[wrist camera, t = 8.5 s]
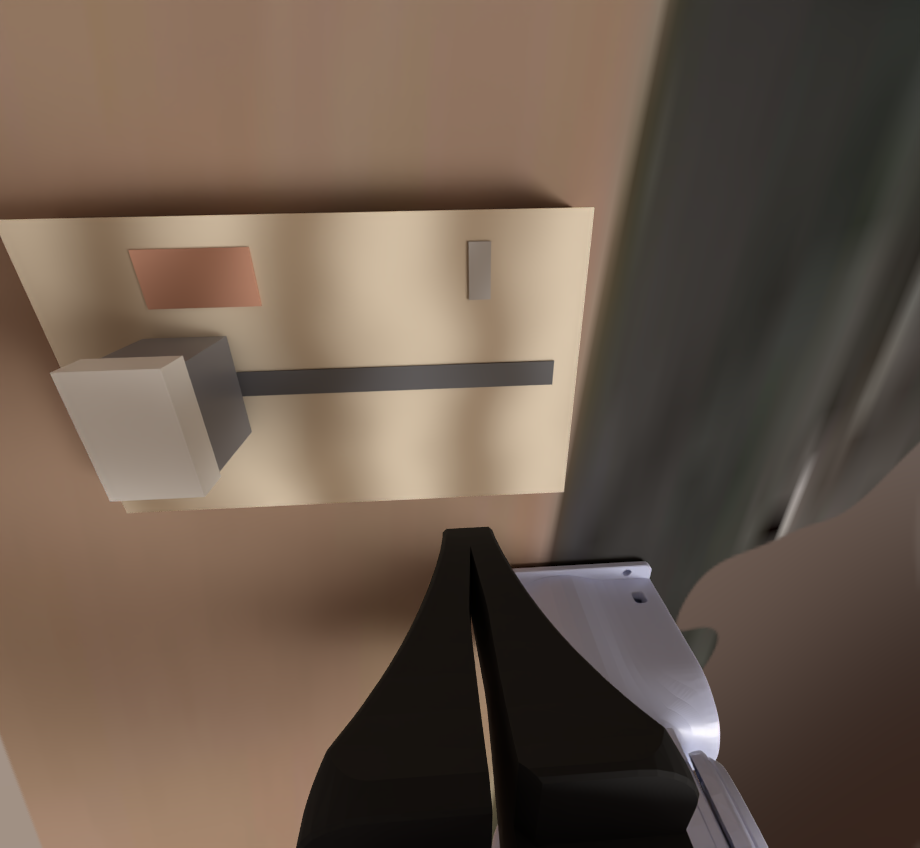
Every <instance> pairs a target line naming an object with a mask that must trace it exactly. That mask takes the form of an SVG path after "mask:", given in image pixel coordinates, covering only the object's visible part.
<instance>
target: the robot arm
mask: <svg viewBox="0 0 920 848" xmlns="http://www.w3.org/2000/svg"><path fill="white" fill-rule="evenodd" d="M625 570H626V571H625ZM650 574H651V567H650V566H649V564H648V563H647V562H645V561H638V562H620V563H603V564H585V565H567V566H549V567H532V568H514V569H512V568H511V566H510V564H509V563H508V561H507V559H506V557H505V556H504V554H503V552H502V550H501V548H500V546H499V544H498V542H497V540H496V538H495V536H494V534H493V531H492V529H490V528H489V527H476V528H457V529H446V530H445V531H444V532H443V538H442V545H441V550H440V554H439V558H438V561H437V565H436V568H435V571H434V573H433V576H432V579H431V582H430V585H429V588H428V590H427V592H426V595H425V597H424V599H423V602H422V604H421V607H420V609H419V611H418V613H417V615H416V618H415V620H414V622H413V624H412V626H411V628H410V630H409V632H408V633H407V635H406V637H405V639H404V641H403V643H402V645H401V646H400V648H399V650H398V651H397V653H396V655H395V657H394V658H393V660H392V662H391V663H390V665H389V667H388V668H387V670H386V671H385V673H384V675H383V676H382V678H381V679H380V680H379V682H378V683H377V685H376V686H375V688H374V689H373V691H372V692H371V693H370V695H369V696H368V698H367V699H366V701H365V702H364V704H363V705H362V706H361V708H360V709H359V711H358V712H357V713H356V715H355V716H354V717H353V718H352V720H351V721H350V722H349V723H348V725H347V726H346V727H345V728H344V730H343V731H342V732H341V733H340V735H339V736H338V737H337V739H336V740H335V741H334V742H333V744H332V745H331V746H330V747H329V749H328V750H327V752H326V754H325V756H324V758H323V761H322V763H321V765H320V768H319V770H318V772H317V775H316V777H315V780H314V783H313V785H312V788H311V791H310V794H309V797H308V800H307V803H306V807H305V810H304V814H303V818H302V823H301V827H300V832H299V837H298V841H297V846H296V848H491V845H492V848H768V846H767V844H766V842H765V840H764V838H763V836H762V834H761V832H760V830H759V828H758V827H757V825H756V823H755V821H754V819H753V817H752V815H751V813H750V811H749V809H748V808H747V806H746V804H745V802H744V800H743V798H742V797H741V795H740V793H739V791H738V790H737V788H736V786H735V785H734V783H733V781H732V779H731V777H730V776H729V774H728V773H727V771H726V770H725V768H724V767H723V766H722V765H721V764H720V763H719V762H717V761H715V760H716V758H717V756H718V752H719V746H720V727H719V719H718V714H717V710H716V706H715V703H714V699H713V696H712V693H711V690H710V687H709V685H708V682H707V679H706V677H705V675H704V673H703V670H702V668H701V666H700V665H699V663H698V661H697V659H696V657H695V656H694V654H693V652H692V651H691V649H690V647H689V645H688V644H687V642H686V640H685V639H684V637H683V635H682V633H681V632H680V630H679V628H678V627H677V625H676V623H675V621H674V620H673V618H672V616H671V615H670V613H669V611H668V609H667V608H666V606H665V604H664V603H663V601H662V599H661V597H660V596H659V594H658V592H657V591H656V589H655V587H654V585H653V584H652V582H651V580H650V579H649V578H650ZM471 617H472V623H473V629H474V634H475V640H476V645H477V651H478V657H479V662H480V668H481V673H482V679H483V684H484V690H485V696H486V703H487V711H488V722H489V732H490V743H491V753H492V764H493V775H494V786H495V797H496V809H497V820H498V825H497V828H496V831H495V833H494V837H493V842H492V801H491V791H490V781H489V771H488V764H487V757H486V749H485V742H484V734H483V727H482V719H481V711H480V703H479V695H478V687H477V678H476V670H475V661H474V652H473V643H472V634H471ZM693 770H695V772H696V775H697V777H698V779H699V781H700V785H701V787H700V785H699V783H698V780H697V779H696V776H695V774H694V772H693ZM701 788H702V789H701ZM702 790H703V791H702Z"/></svg>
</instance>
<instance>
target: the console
mask: <svg viewBox="0 0 920 848" xmlns="http://www.w3.org/2000/svg"><path fill="white" fill-rule="evenodd" d="M594 208H595V207H567V208H520V209H472V210H425V211H377V212H330V213H282V214H235V215H187V216H140V217H92V218H47V219H11V220H0V237H1V239H2V241H3V243H4V245H5V247H6V250H7V252H8V254H9V256H10V258H11V261H12V263H13V265H14V267H15V269H16V272H17V274H18V276H19V278H20V280H21V283H22V285H23V287H24V289H25V291H26V294H27V296H28V298H29V300H30V302H31V304H32V307H33V309H34V311H35V313H36V315H37V318H38V320H39V322H40V324H41V326H42V329H43V331H44V333H45V335H46V337H47V340H48V342H49V344H50V346H51V348H52V350H53V353H54V355H55V357H56V359H57V361H58V364H59V366H60V368H62V367H64V366H66V365H69V364H71V363H73V362H76V361H78V360H80V359H99V358H101V357H104V356H106V355H108V354H110V353H112V352H115V351H117V350H119V349H121V348H123V347H126V346H128V345H130V344H132V343H135V342H137V341H139V340H141V339H150V338H181V337H212V336H227V340H228V344H229V348H230V351H231V355H232V359H233V363H234V366H235V370H236V374H237V378H238V381H239V385H240V389H241V393H242V396H243V400H244V404H245V408H246V412H247V415H248V419H249V423H250V427H251V430H252V432H251V434H250V435H249V436H248V437H247V439H246V440H245V441H244V442H243V444H242V445H241V446H240V447H239V448H238V450H237V451H236V452H235V453H234V455H233V456H232V457H231V458H230V460H229V461H228V462H227V463H226V465H225V466H224V467H223V468H222V470H221V471H220V474H221V478H220V479H219V480H218V481H217V483H216V484H215V485H214V486H213V488H212V489H211V490H210V492H209V493H208V494H207V495H206V497H195V498H174V499H154V500H133V501H121V502H122V504H123V506H124V508H125V510H126V513H143V512H163V511H184V510H204V509H224V508H245V507H265V506H285V505H306V504H326V503H347V502H367V501H387V500H408V499H428V498H449V497H469V496H489V495H510V494H530V493H550V492H564V484H565V475H566V466H567V457H568V447H569V438H570V429H571V420H572V411H573V401H574V392H575V383H576V374H577V365H578V355H579V346H580V337H581V328H582V318H583V309H584V300H585V291H586V282H587V272H588V263H589V254H590V245H591V236H592V226H593V217H594Z"/></svg>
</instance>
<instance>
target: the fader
mask: <svg viewBox="0 0 920 848" xmlns="http://www.w3.org/2000/svg"><path fill="white" fill-rule="evenodd" d="M50 375H51V377H52V379H53V381H54V383H55V385H56V388H57V390H58V392H59V394H60V396H61V398H62V400H63V402H64V405H65V407H66V409H67V411H68V413H69V415H70V417H71V419H72V422H73V424H74V426H75V428H76V430H77V432H78V434H79V436H80V439H81V441H82V443H83V445H84V447H85V449H86V451H87V453H88V455H89V458H90V460H91V462H92V464H93V466H94V468H95V470H96V472H97V475H98V477H99V479H100V481H101V483H102V485H103V487H104V489H105V492H106V494H107V496H108V498H109V500H110V502H112V501H133V500H154V499H174V498H195V497H206V495H207V494H208V493H209V492H210V490H211V489H212V488H213V486H214V485H215V484H216V483H217V481H218V480H219V479H220V478H221V474H220V471H221V470H222V468H223V467H224V466H225V465H226V463H227V462H228V461H229V460H230V458H231V457H232V456H233V455H234V453H235V452H236V451H237V450H238V448H239V447H240V446H241V445H242V444H243V442H244V441H245V440H246V439H247V437H248V436H249V435H250V434H251V432H252V430H251V427H250V423H249V419H248V415H247V412H246V408H245V404H244V400H243V396H242V393H241V389H240V385H239V381H238V378H237V374H236V370H235V366H234V363H233V359H232V355H231V351H230V348H229V344H228V340H227V336H212V337H181V338H150V339H141V340H139V341H137V342H135V343H132V344H130V345H128V346H126V347H123V348H121V349H119V350H117V351H115V352H112V353H110V354H108V355H106V356H104V357H101V358H99V359H80V360H78V361H76V362H73V363H71V364H69V365H66V366H64V367H62V368H59V369H57V370H55V371H52V372H50Z"/></svg>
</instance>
